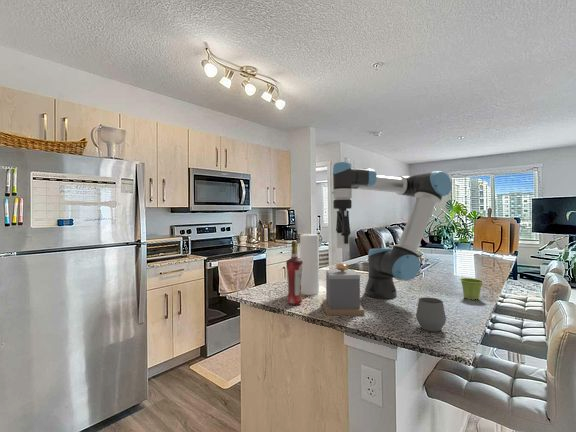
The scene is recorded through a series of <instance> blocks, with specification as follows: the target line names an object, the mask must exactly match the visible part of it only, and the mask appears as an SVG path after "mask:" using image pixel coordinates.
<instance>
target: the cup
mask: <svg viewBox="0 0 576 432" xmlns="http://www.w3.org/2000/svg"><path fill="white" fill-rule="evenodd" d="M445 311H446V310H445V307H444V301H443V300H441V299H439V298H436V297H429V296H427V297H425V296H424V297H420V298H418V302H417V309H416V315H415V318H416V320H417V323H418V324H419V326H420V328H421V329H422V330H423V331H427V332H437V333H438V332H440V331H441V330H442V329H443V327H444V326H445V324H446V321H447V317H446V312H445Z"/></svg>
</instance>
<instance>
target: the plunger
mask: <svg viewBox="0 0 576 432" xmlns="http://www.w3.org/2000/svg"><path fill="white" fill-rule="evenodd" d="M335 266H336V267H335V268H336V269H335V270H340V273H344V270H349V264H348V263H344V262H343V263H336V265H335Z"/></svg>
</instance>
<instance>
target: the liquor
mask: <svg viewBox="0 0 576 432" xmlns="http://www.w3.org/2000/svg"><path fill="white" fill-rule="evenodd" d="M302 266H303V261H302V260H300V258H299V257H298V240H291V255H290V258H289V259H287V260H286V279H287V280H286V281H287V299H286V301H287V303H288V304H289V305H291V306H297V305H298V306H299V305H300V304H301V303H302V302H303V299H302V294H301V287H302Z"/></svg>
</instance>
